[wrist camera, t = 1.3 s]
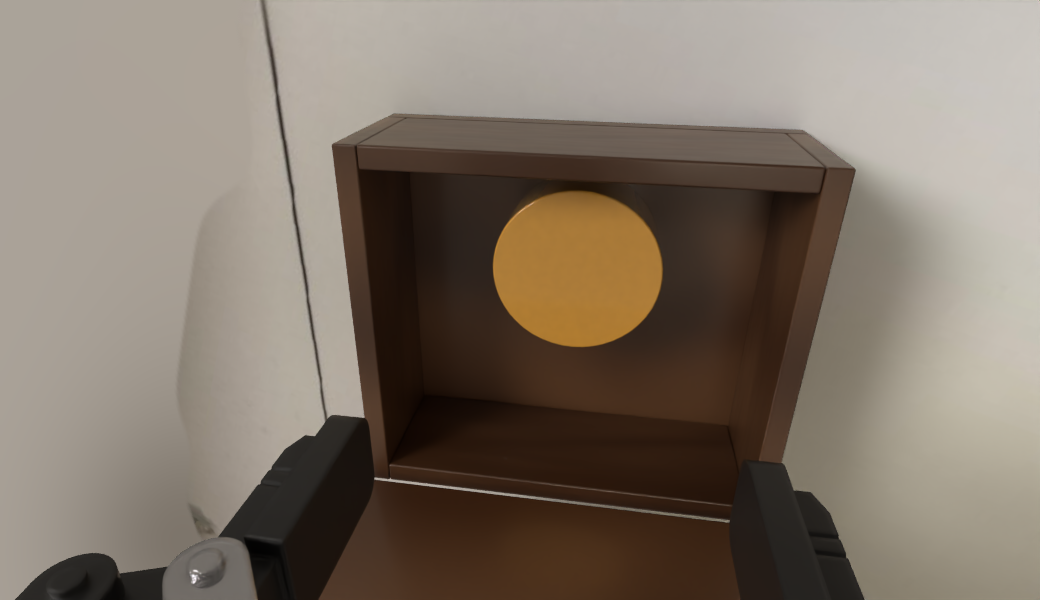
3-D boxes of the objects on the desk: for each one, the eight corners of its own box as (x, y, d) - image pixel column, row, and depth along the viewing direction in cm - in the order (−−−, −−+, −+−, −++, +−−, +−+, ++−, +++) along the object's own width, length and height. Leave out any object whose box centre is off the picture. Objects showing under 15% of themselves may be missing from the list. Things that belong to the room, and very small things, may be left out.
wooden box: (392, 113, 25) (330, 143, 19) (804, 129, 23) (857, 168, 17) (414, 396, 31) (371, 477, 25) (740, 430, 29) (766, 525, 23)
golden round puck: (505, 166, 24) (491, 185, 22) (668, 174, 23) (673, 196, 21) (505, 308, 27) (492, 340, 24) (650, 320, 26) (653, 354, 23)
